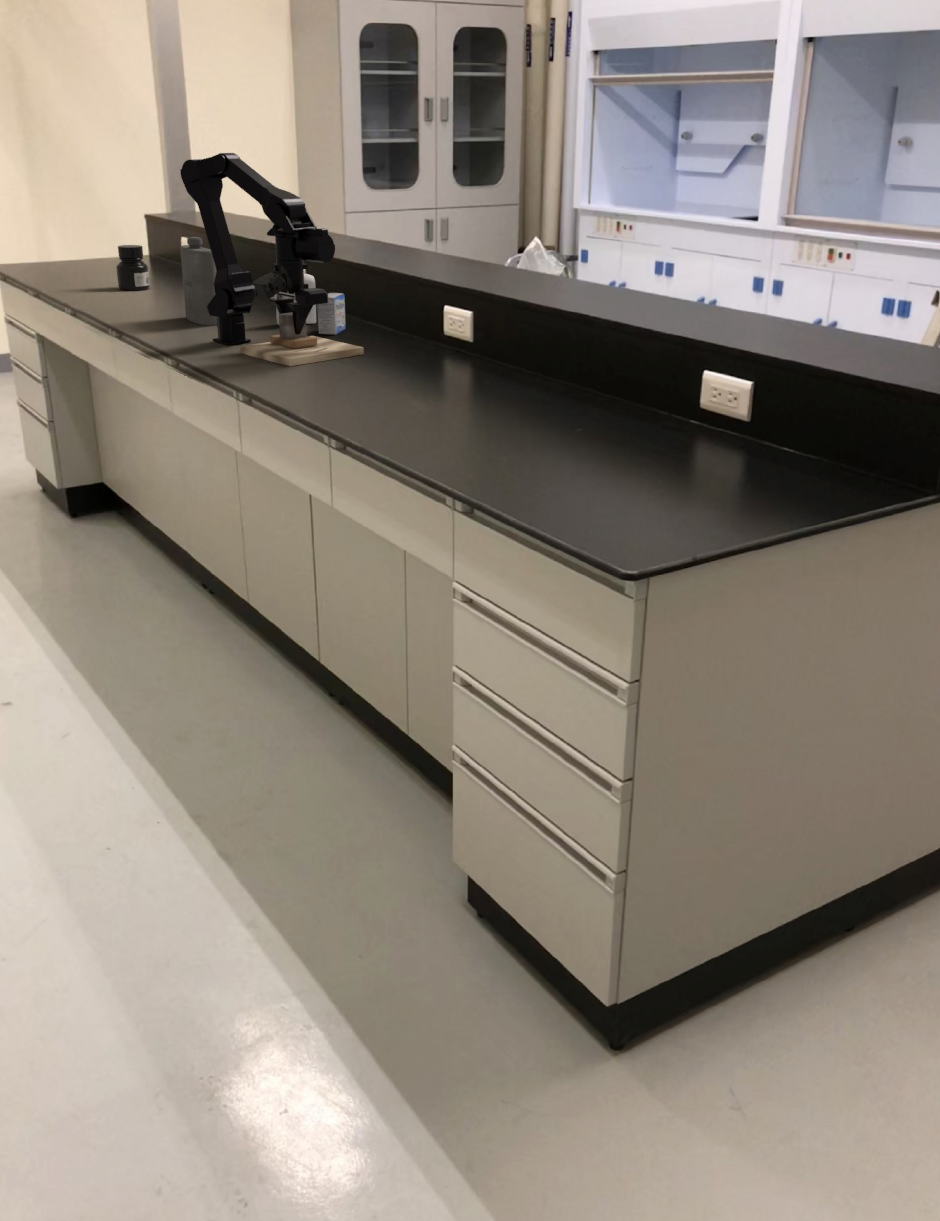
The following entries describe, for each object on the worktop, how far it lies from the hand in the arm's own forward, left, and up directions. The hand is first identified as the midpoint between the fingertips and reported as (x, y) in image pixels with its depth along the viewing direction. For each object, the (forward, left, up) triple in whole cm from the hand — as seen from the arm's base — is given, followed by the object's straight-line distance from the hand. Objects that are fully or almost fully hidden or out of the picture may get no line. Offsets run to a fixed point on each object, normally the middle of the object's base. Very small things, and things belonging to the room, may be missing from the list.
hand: (293, 333), depth 244 cm
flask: (-46, +6, -4) cm, 47 cm away
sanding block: (0, 0, -2) cm, 2 cm away
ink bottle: (-105, +21, -4) cm, 107 cm away
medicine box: (-14, +22, -4) cm, 26 cm away
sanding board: (+3, 0, -4) cm, 5 cm away
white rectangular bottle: (-28, +22, -4) cm, 36 cm away
